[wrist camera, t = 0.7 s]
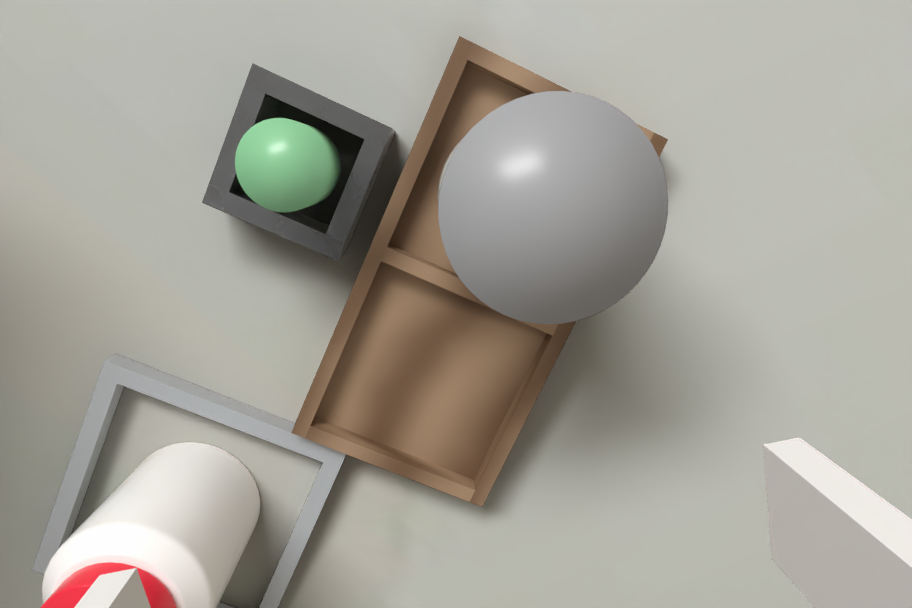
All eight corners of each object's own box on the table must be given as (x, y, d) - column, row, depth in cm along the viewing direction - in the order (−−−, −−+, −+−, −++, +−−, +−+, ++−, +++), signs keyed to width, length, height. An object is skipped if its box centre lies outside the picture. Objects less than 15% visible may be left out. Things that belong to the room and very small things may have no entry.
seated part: (410, 235, 33) (401, 270, 22) (475, 88, 31) (499, 48, 20) (547, 296, 34) (602, 357, 23) (615, 156, 32) (709, 153, 21)
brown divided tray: (298, 418, 35) (291, 432, 33) (457, 44, 31) (459, 36, 29) (479, 488, 37) (481, 506, 35) (653, 140, 33) (667, 139, 31)
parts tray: (44, 557, 37) (31, 570, 36) (115, 353, 34) (104, 360, 33) (265, 632, 39) (259, 647, 37) (349, 444, 36) (346, 454, 35)
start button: (248, 186, 30) (221, 189, 27) (277, 110, 30) (253, 101, 26) (323, 219, 31) (308, 226, 27) (353, 145, 30) (342, 142, 26)
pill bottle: (274, 546, 37) (212, 700, 27) (149, 568, 37) (37, 731, 27) (243, 430, 36) (162, 546, 25) (112, 454, 35) (-25, 579, 25)
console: (222, 199, 32) (202, 202, 30) (269, 72, 31) (252, 63, 28) (345, 252, 33) (337, 260, 30) (395, 131, 32) (391, 128, 29)
